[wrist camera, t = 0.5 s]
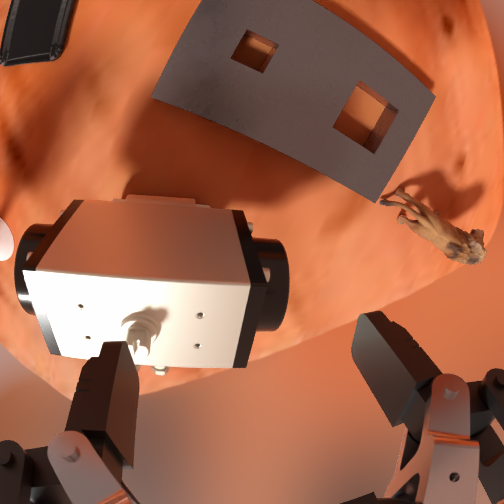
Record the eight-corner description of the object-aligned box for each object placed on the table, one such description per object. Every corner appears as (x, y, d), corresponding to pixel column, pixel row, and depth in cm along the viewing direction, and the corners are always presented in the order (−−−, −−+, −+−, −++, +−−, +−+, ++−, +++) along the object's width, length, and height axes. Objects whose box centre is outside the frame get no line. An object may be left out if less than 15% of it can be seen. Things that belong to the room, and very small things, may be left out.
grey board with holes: (226, -31, 18) (228, -40, 16) (421, 93, 27) (435, 96, 25) (155, 95, 24) (150, 97, 22) (364, 194, 32) (375, 203, 30)
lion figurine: (457, 209, 36) (498, 241, 28) (441, 241, 39) (479, 277, 31) (385, 180, 32) (433, 215, 24) (367, 221, 34) (408, 263, 27)
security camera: (82, 247, 30) (24, 379, 15) (77, 173, 26) (-21, 282, 11) (241, 257, 34) (278, 397, 19) (255, 185, 30) (317, 306, 15)
